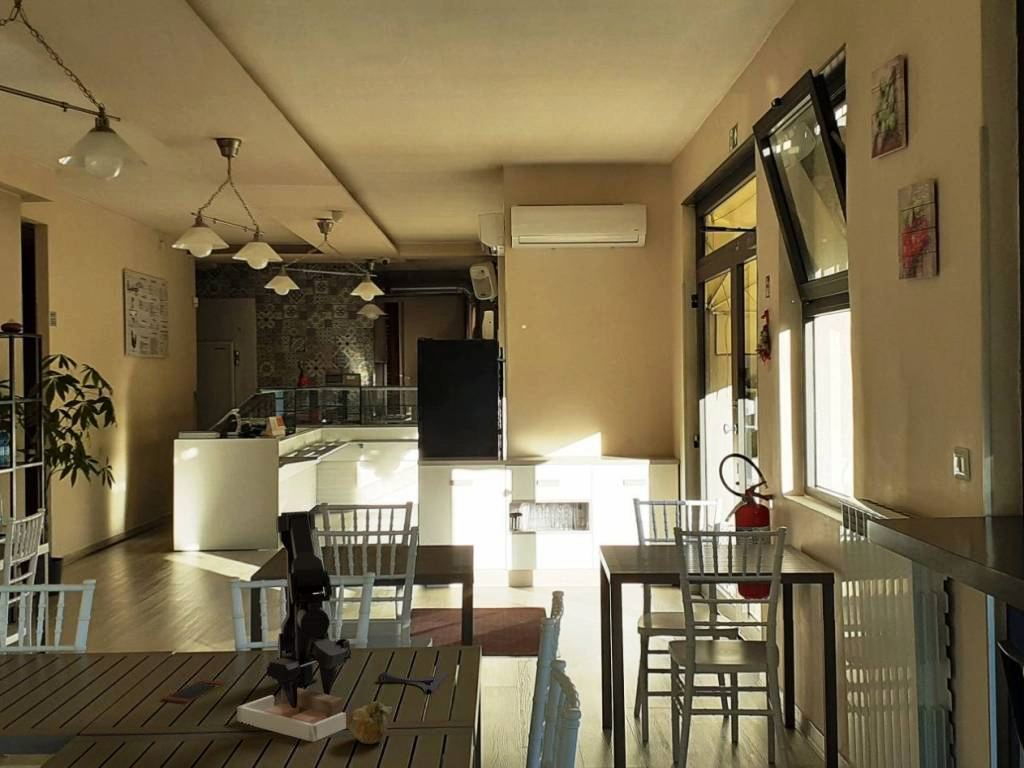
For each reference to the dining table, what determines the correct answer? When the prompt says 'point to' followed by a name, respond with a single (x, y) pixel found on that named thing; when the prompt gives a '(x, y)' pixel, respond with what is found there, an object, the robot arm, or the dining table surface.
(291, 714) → the tile
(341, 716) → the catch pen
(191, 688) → the smartphone
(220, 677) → the dining table surface
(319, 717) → the tile
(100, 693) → the dining table surface
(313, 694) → the bar
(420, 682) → the bracket
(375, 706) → the onion
